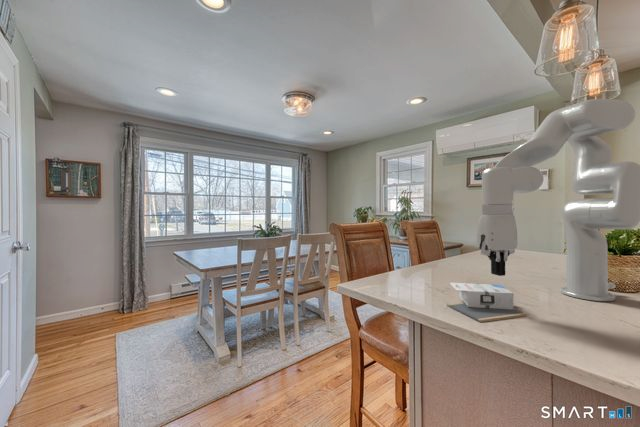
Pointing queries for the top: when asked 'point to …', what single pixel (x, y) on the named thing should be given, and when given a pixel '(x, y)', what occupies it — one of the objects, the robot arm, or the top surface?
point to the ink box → (485, 295)
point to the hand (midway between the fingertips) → (498, 274)
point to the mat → (485, 312)
